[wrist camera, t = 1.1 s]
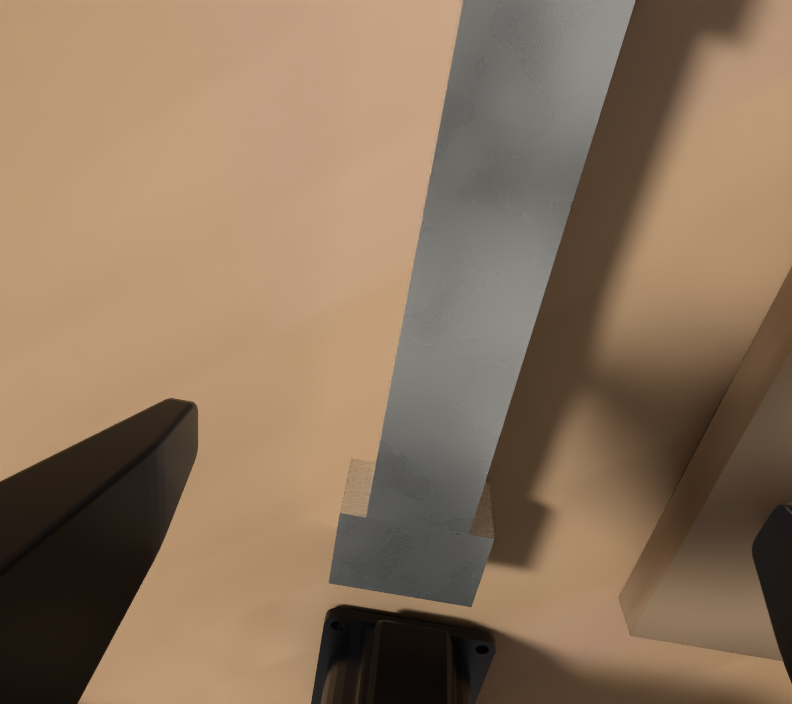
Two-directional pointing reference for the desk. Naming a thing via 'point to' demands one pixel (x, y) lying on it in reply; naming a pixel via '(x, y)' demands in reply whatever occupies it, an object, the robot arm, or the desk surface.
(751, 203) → the desk surface
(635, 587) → the peg board
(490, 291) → the grey i-beam piece
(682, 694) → the desk surface
